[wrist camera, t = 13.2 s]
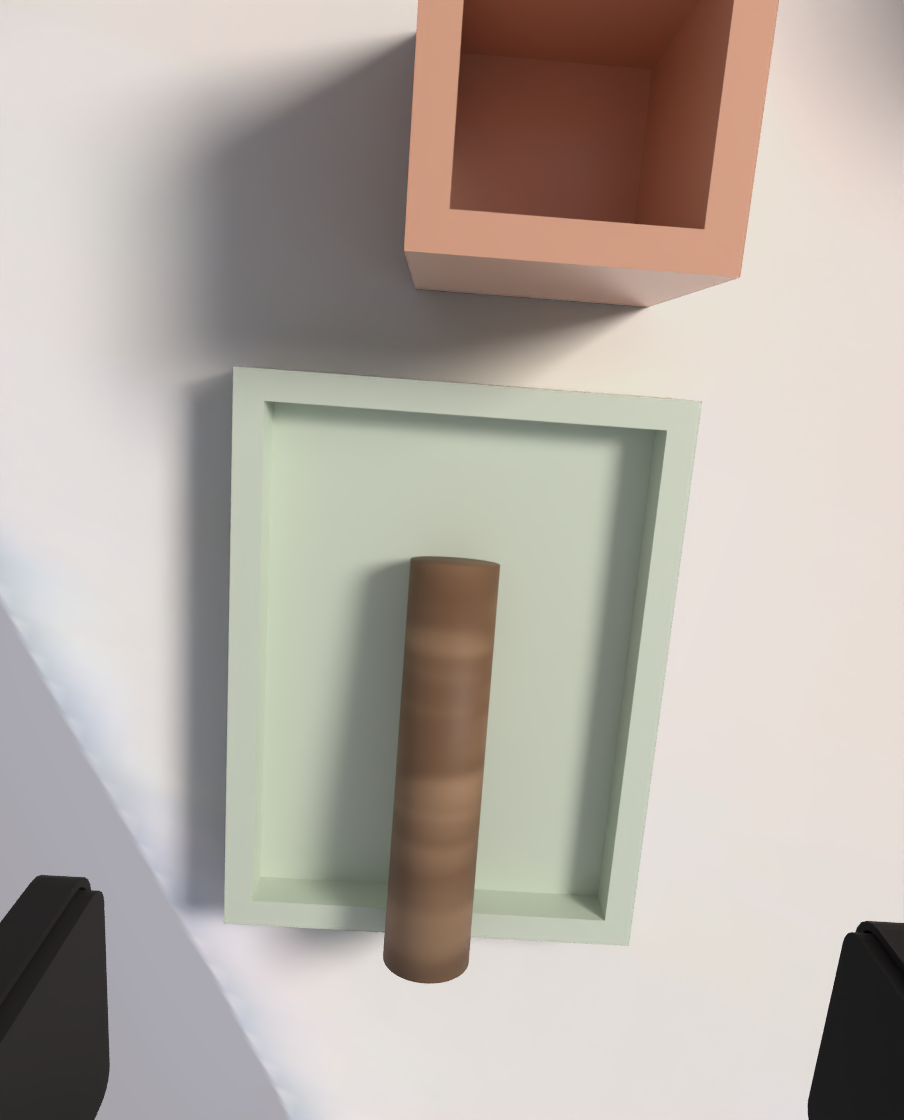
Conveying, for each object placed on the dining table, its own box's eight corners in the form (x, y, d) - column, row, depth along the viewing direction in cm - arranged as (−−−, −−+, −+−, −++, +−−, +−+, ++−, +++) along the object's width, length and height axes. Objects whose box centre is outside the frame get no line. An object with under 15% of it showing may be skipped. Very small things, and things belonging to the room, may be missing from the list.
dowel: (411, 532, 27) (373, 1022, 23) (505, 538, 27) (481, 1028, 23) (412, 583, 34) (383, 961, 31) (486, 588, 34) (465, 966, 31)
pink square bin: (431, 27, 27) (426, -142, 18) (679, 48, 27) (794, -109, 18) (415, 288, 28) (403, 250, 20) (648, 306, 29) (739, 277, 20)
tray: (250, 366, 29) (233, 366, 27) (680, 399, 29) (701, 401, 27) (239, 883, 33) (223, 923, 31) (615, 904, 34) (628, 945, 31)
